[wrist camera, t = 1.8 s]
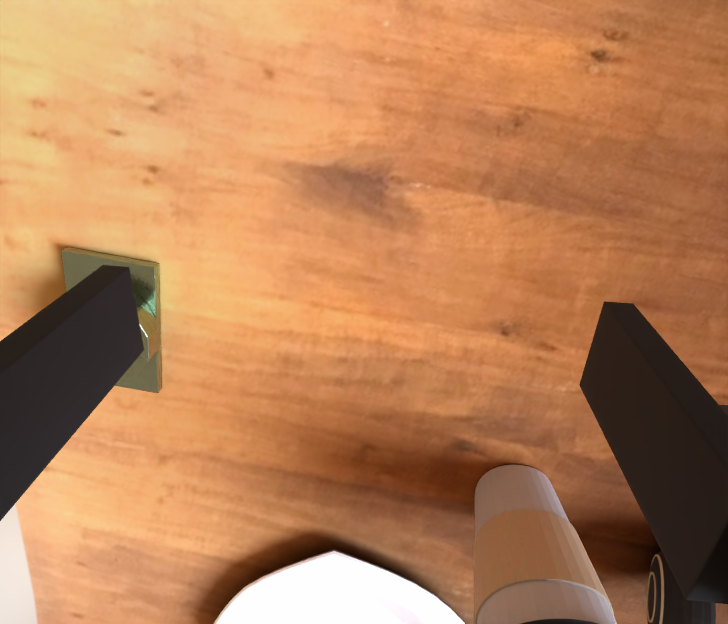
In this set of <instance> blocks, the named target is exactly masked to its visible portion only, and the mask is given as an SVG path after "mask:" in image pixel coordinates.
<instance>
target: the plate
mask: <svg viewBox="0 0 728 624" xmlns="http://www.w3.org/2000/svg"><path fill="white" fill-rule="evenodd" d="M214 624H466V623H465V622H464V621H463V620H462V619H461V618H460V617H459V616H458V615H457V614H456V613H455V612H454V611H453V610H452V608H451V607H450V606H448V605H447V604H446V603H445V602H443V601H442V600H441V599H440V598H438V597H437V596H436V595H435V594H433V593H432V592H430V591H428V590H427V589H425V588H423V587H422V586H420V585H418V584H417V583H415V582H413V581H411V580H409V579H407V578H405V577H403V576H401V575H399V574H396V573H394V572H392V571H390V570H388V569H385V568H383V567H380V566H378V565H375V564H372V563H370V562H367V561H365V560H362V559H360V558H357V557H354V556H352V555H349V554H346V553H344V552H341V551H338V550H336V549H334V550H330V551H327V552H324V553H321V554H318V555H314V556H311V557H308V558H306V559H303V560H300V561H297V562H295V563H292V564H289V565H286V566H284V567H282V568H279V569H277V570H275V571H272V572H270V573H268V574H266V575H264V576H262V577H260V578H258V579H256V580H255V581H253V582H251V583H249V584H248V585H246V586H245V587H244V588H243V589H242V590H241V591H240V592H238V593H237V594H236V595H235V596H234V597H233V598H232V599H231V601H230V602H229V603H228V604H227V605H226V607H225V608H224V609H223V610H222V612H221V613H220V614H219V616H218V618H217V619H216V621H215V622H214Z"/></svg>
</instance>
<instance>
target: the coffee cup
mask: <svg viewBox="0 0 728 624" xmlns="http://www.w3.org/2000/svg"><path fill="white" fill-rule="evenodd" d="M473 560H474V622H475V624H617V622H616V620H615V618H614V613H613V609H612V606H611V603H610V601H609V599H608V597H607V595H606V593H605V590H604V588H603V586H602V584H601V582H600V580H599V578H598V576H597V574H596V572H595V569H594V567H593V565H592V563H591V561H590V559H589V557H588V555H587V553H586V551H585V549H584V546H583V544H582V542H581V540H580V538H579V536H578V534H577V532H576V530H575V529H574V527H573V526H572V524H571V523H570V522H569V520H568V518H567V516H566V514H565V512H564V510H563V508H562V505H561V503H560V501H559V499H558V497H557V495H556V493H555V491H554V489H553V487H552V485H551V482H550V481H549V479H548V478H547V476H546V475H545V474H543V473H542V472H541V471H539V470H537V469H535V468H532V467H529V466H524V465H503V466H499V467H496V468H493V469H491V470H489V471H488V472H486V473H485V474H484V475H483V476H482V477H481V478H480V480H479V482H478V483H477V486H476V489H475V539H474V546H473Z"/></svg>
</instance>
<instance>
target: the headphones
mask: <svg viewBox="0 0 728 624" xmlns="http://www.w3.org/2000/svg"><path fill="white" fill-rule="evenodd" d="M647 620H648V624H715V620H716V611H715V603H712V602H702V601H692V600H686V599H685V597H684V595H683V593H682V591H681V589H680V587H679V585H678V583H677V581H676V579H675V577H674V575H673V573H672V571H671V569H670V567H669V565H668V563H667V561H666V559H665V557H664V555H663V553H662V551H660V552H659V553H658V554H655V556H654V557H653V560H652V563H651V568H650V571H649V577H648V586H647Z"/></svg>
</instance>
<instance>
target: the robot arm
mask: <svg viewBox="0 0 728 624" xmlns="http://www.w3.org/2000/svg"><path fill="white" fill-rule="evenodd" d="M143 351H144V346H143V340H142V335H141V329H140V324H139V318H138V313H137V307H136V302H135V296H134V291H133V285H132V279H131V274H130V268H129V267H124V266H110V265H102V266H101V267H99V268H98V269H97V270H95V271H94V272H93V273H91V274H90V275H89V276H87V277H86V278H85V279H83V280H82V281H81V282H79V283H78V284H76V285H75V286H74V287H72V288H71V289H70V290H68V291H67V292H66V293H64V294H63V295H62V296H60V297H59V298H58V299H56V300H55V301H54V302H52V303H51V304H50V305H48V306H47V307H46V308H44V309H43V310H42V311H40V312H39V313H38V314H36V315H35V316H34V317H32V318H31V319H30V320H28V321H27V322H26V323H24V324H23V325H22V326H20V327H19V328H18V329H16V330H15V331H14V332H12V333H11V334H10V335H8V336H7V337H6V338H4V339H3V340H1V341H0V521H1V519H2V518H3V517H4V516H5V515H6V513H7V512H8V511H9V510H10V509H11V508H12V506H13V505H14V504H15V503H16V502H17V501H18V499H19V498H20V497H21V496H22V495H23V493H24V492H25V491H26V490H27V489H28V487H29V486H30V485H31V484H32V483H33V482H34V480H35V479H36V478H37V477H38V476H39V474H40V473H41V472H42V471H43V470H44V468H45V467H46V466H47V465H48V464H49V463H50V461H51V460H52V459H53V458H54V457H55V455H56V454H57V453H58V452H59V451H60V449H61V448H62V447H63V446H64V445H65V444H66V442H67V441H68V440H69V439H70V438H71V436H72V435H73V434H74V433H75V432H76V430H77V429H78V428H79V427H80V426H81V425H82V423H83V422H84V421H85V420H86V419H87V417H88V416H89V415H90V414H91V413H92V411H93V410H94V409H95V408H96V407H97V406H98V404H99V403H100V402H101V401H102V400H103V398H104V397H105V396H106V395H107V394H108V392H109V391H110V390H111V389H112V388H113V387H114V385H115V384H116V383H117V382H118V381H119V379H120V378H121V377H122V376H123V375H124V373H125V372H126V371H127V370H128V369H129V368H130V366H131V365H132V364H133V363H134V362H135V360H136V359H137V358H138V357H139V356H140V354H141V353H142V352H143ZM580 387H581V389H582V391H583V393H584V395H585V397H586V399H587V401H588V403H589V405H590V407H591V409H592V411H593V413H594V415H595V417H596V419H597V421H598V423H599V425H600V427H601V429H602V431H603V433H604V435H605V437H606V440H607V442H608V444H609V446H610V448H611V450H612V452H613V454H614V456H615V458H616V460H617V462H618V464H619V466H620V468H621V470H622V472H623V474H624V476H625V478H626V480H627V482H628V484H629V486H630V488H631V490H632V492H633V494H634V496H635V498H636V500H637V502H638V504H639V506H640V508H641V510H642V512H643V514H644V516H645V518H646V520H647V522H648V524H649V527H650V529H651V531H652V533H653V535H654V537H655V539H656V541H657V543H658V545H659V547H660V549H661V551H662V553H663V555H664V557H665V559H666V561H667V563H668V565H669V567H670V569H671V571H672V573H673V575H674V577H675V579H676V581H677V583H678V585H679V587H680V589H681V591H682V593H683V595H684V597H685V599H686V600H692V601H702V602H712V603H723V604H728V405H718V404H717V402H716V401H715V400H714V399H713V398H712V396H711V395H710V394H709V393H708V392H707V391H706V389H705V388H704V387H703V386H702V385H701V383H700V382H699V381H698V380H697V379H696V378H695V376H694V375H693V374H692V373H691V372H690V370H689V369H688V368H687V367H686V366H685V365H684V363H683V362H682V361H681V360H680V359H679V357H678V356H677V355H676V354H675V353H674V352H673V350H672V349H671V348H670V347H669V346H668V344H667V343H666V342H665V341H664V340H663V339H662V337H661V336H660V335H659V334H658V333H657V331H656V330H655V329H654V328H653V327H652V326H651V324H650V323H649V322H648V321H647V320H646V318H645V317H644V316H643V315H642V314H641V313H640V311H639V310H638V309H637V308H636V307H635V305H634V304H630V303H617V302H604V304H603V307H602V310H601V314H600V317H599V321H598V324H597V327H596V331H595V334H594V338H593V341H592V344H591V348H590V351H589V354H588V358H587V361H586V365H585V368H584V371H583V375H582V378H581V382H580Z"/></svg>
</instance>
